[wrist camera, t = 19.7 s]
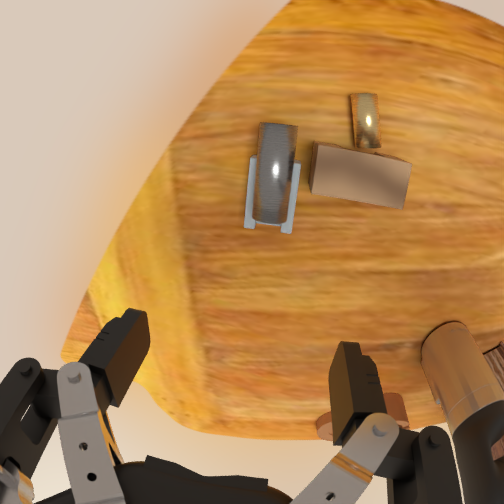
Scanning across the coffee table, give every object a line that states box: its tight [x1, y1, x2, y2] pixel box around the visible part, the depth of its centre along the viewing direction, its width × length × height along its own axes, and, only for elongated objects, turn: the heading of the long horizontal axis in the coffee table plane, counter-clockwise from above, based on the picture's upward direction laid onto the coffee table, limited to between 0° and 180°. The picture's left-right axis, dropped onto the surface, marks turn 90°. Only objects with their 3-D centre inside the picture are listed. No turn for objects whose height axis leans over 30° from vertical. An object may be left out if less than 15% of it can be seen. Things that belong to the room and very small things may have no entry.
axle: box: [252, 122, 298, 224], centre depth 31 cm, size 10×4×4 cm, turn 175°
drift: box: [351, 93, 381, 148], centre depth 29 cm, size 6×3×3 cm
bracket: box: [317, 393, 409, 441], centre depth 48 cm, size 18×8×7 cm, turn 120°
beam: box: [308, 141, 412, 209], centre depth 31 cm, size 5×10×5 cm, turn 85°
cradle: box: [244, 155, 301, 234], centre depth 34 cm, size 8×5×3 cm
